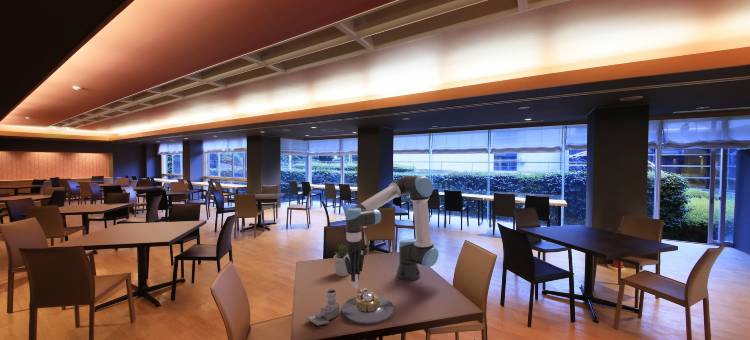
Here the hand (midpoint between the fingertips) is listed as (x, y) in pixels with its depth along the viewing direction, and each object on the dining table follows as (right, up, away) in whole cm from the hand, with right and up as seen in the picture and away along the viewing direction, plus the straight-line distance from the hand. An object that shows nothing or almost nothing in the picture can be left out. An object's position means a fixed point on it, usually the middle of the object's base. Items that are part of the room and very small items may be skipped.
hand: (355, 287), depth 143 cm
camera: (-13, -11, -11) cm, 20 cm away
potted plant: (-11, -10, +46) cm, 48 cm away
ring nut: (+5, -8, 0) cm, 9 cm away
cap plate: (+6, -10, -3) cm, 13 cm away
